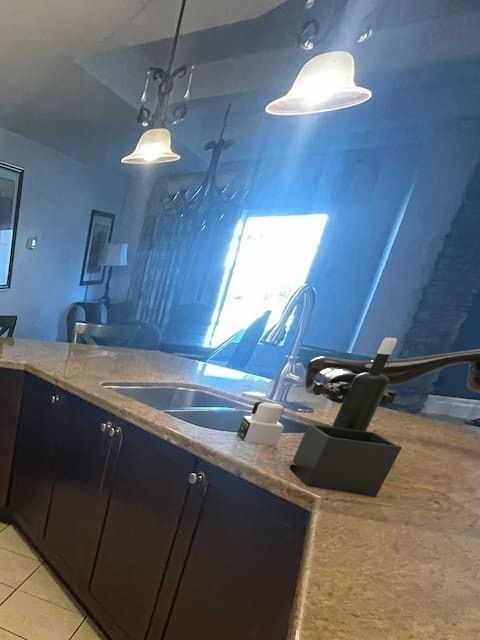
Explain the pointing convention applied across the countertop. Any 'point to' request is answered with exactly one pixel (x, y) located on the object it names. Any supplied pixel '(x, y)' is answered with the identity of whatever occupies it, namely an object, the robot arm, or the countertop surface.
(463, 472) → the countertop surface
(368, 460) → the bin
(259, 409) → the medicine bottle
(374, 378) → the wine bottle
